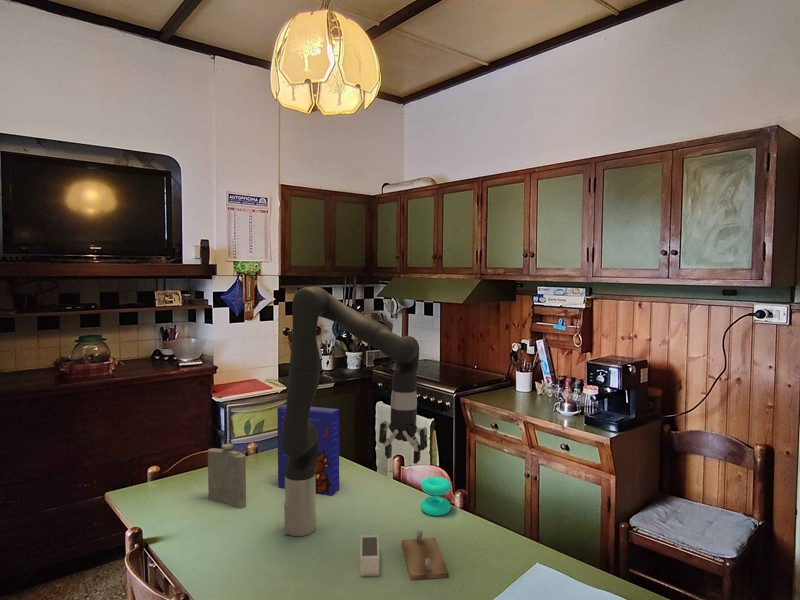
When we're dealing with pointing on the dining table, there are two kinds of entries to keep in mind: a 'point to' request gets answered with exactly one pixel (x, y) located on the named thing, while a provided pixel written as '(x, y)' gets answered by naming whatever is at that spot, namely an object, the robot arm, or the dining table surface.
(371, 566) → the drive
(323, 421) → the cereal box
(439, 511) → the donuts
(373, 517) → the dining table surface
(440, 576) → the pin tray
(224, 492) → the hip flask
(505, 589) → the dining table surface
